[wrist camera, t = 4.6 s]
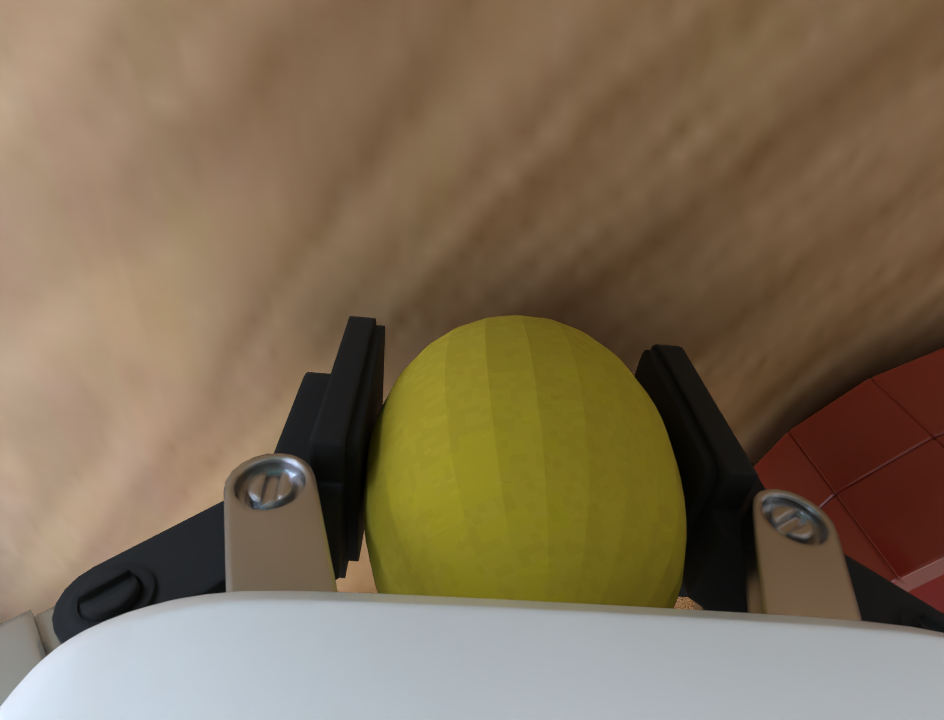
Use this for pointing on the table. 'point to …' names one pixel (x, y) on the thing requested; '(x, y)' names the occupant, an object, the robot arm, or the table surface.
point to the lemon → (523, 473)
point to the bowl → (877, 473)
